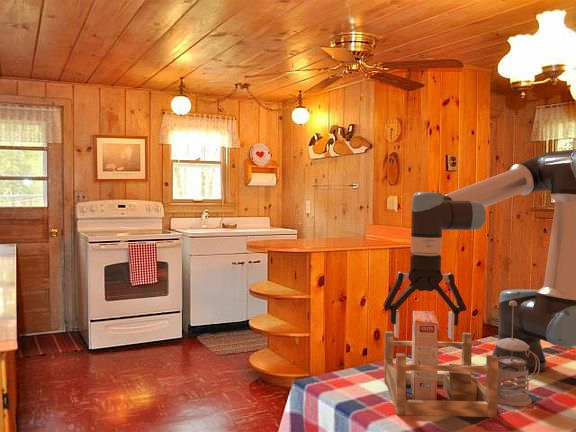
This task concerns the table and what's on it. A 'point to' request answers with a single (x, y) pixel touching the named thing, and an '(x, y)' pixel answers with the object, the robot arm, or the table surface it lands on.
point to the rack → (440, 382)
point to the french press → (513, 372)
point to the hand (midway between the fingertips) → (423, 337)
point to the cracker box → (424, 355)
